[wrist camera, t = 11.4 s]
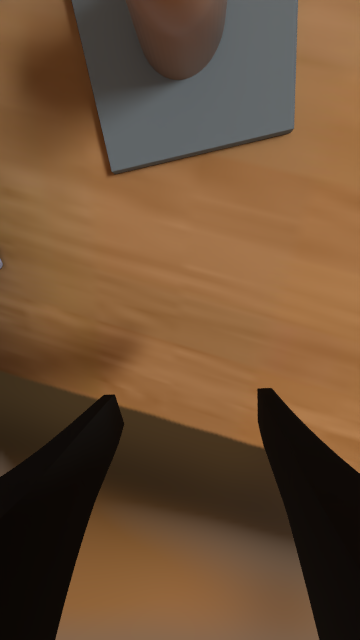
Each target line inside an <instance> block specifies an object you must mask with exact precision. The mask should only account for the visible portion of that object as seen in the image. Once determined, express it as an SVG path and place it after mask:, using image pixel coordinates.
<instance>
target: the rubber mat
mask: <svg viewBox="0 0 360 640" xmlns="http://www.w3.org/2000/svg"><path fill="white" fill-rule="evenodd" d="M72 4H73V8H74V13H75V17H76V21H77V25H78V30H79V34H80V38H81V42H82V47H83V51H84V55H85V59H86V64H87V68H88V72H89V76H90V81H91V85H92V89H93V94H94V98H95V102H96V106H97V111H98V115H99V119H100V123H101V128H102V132H103V136H104V140H105V145H106V149H107V153H108V157H109V162H110V166H111V170H112V172H113V173H114V174H118V173H123V172H127V171H131V170H135V169H140V168H144V167H148V166H152V165H157V164H161V163H165V162H169V161H174V160H178V159H182V158H186V157H191V156H195V155H199V154H203V153H208V152H212V151H216V150H220V149H225V148H229V147H233V146H237V145H241V144H246V143H250V142H254V141H258V140H263V139H267V138H271V137H275V136H280V135H284V134H288V133H291V131H292V130H293V129H294V111H295V79H296V46H297V13H298V0H227V9H226V19H225V25H224V31H223V34H222V38H221V41H220V43H219V46H218V48H217V50H216V52H215V54H214V56H213V57H212V59H211V60H210V62H209V63H208V64H207V65H206V66H205V67H204V68H203V69H202V70H201V71H200V72H199V73H197V74H196V75H194V76H192V77H190V78H187V79H183V80H173V79H169V78H166V77H164V76H162V75H160V74H159V73H158V72H157V71H155V70H154V69H153V67H152V66H151V65H150V64H149V62H148V61H147V59H146V57H145V56H144V54H143V51H142V49H141V46H140V43H139V40H138V37H137V34H136V31H135V28H134V25H133V22H132V19H131V16H130V13H129V10H128V7H127V4H126V1H125V0H72Z"/></svg>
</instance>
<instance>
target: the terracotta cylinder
mask: <svg viewBox="0 0 360 640" xmlns="http://www.w3.org/2000/svg"><path fill="white" fill-rule="evenodd" d="M125 1H126V4H127V7H128V10H129V13H130V16H131V19H132V22H133V25H134V28H135V31H136V34H137V37H138V40H139V43H140V46H141V49H142V51H143V54H144V56H145V57H146V59H147V61H148V62H149V64H150V65H151V66H152V67H153V69H154V70H155V71H157V72H158V73H159V74H160V75H162V76H164V77H166V78H169V79H173V80H183V79H187V78H190V77H192V76H194V75H196V74H197V73H199V72H200V71H201V70H202V69H203V68H204V67H205V66H206V65H207V64H208V63H209V62H210V60H211V59H212V57H213V56H214V54H215V52H216V50H217V48H218V46H219V43H220V41H221V38H222V34H223V31H224V25H225V19H226V9H227V0H125Z"/></svg>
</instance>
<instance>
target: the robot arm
mask: <svg viewBox="0 0 360 640" xmlns="http://www.w3.org/2000/svg"><path fill="white" fill-rule="evenodd" d="M2 265H3V264H2V261H1V259H0V269H1V268H2ZM258 424H259V429H260V433H261V437H262V441H263V445H264V448H265V451H266V454H267V456H268V459H269V462H270V465H271V468H272V471H273V474H274V476H275V479H276V482H277V485H278V488H279V491H280V494H281V497H282V499H283V502H284V506H285V509H286V512H287V515H288V519H289V523H290V526H291V530H292V534H293V538H294V541H295V545H296V548H297V553H298V557H299V560H300V564H301V567H302V572H303V576H304V580H305V584H306V587H307V591H308V595H309V600H310V603H311V608H312V611H313V615H314V620H315V624H316V628H317V632H318V636H319V640H360V473H358V472H357V471H356V470H355V469H353V468H352V467H351V466H350V465H349V464H347V463H346V462H345V461H344V460H343V459H342V458H340V457H339V456H338V455H337V454H336V453H335V452H334V451H332V450H331V449H330V448H329V447H328V446H327V445H326V444H325V443H324V442H323V441H322V440H320V439H319V438H318V437H317V436H316V435H315V434H314V433H313V432H312V431H311V430H310V429H309V428H308V427H307V426H306V425H305V424H304V423H303V422H302V421H301V420H300V419H299V418H298V417H297V416H296V415H295V414H294V413H293V412H292V411H291V409H290V408H289V407H288V406H287V405H286V404H285V403H284V402H283V401H282V399H281V398H280V397H279V396H278V395H277V394H276V392H275V391H274V390H273V389H272V388H261V389H258ZM123 426H124V422H123V418H122V415H121V412H120V409H119V406H118V403H117V400H116V397H115V395H103V396H102V397H101V398H100V399H98V400H97V401H96V402H95V403H94V404H93V405H92V406H91V407H89V408H88V409H87V410H86V411H85V412H84V413H83V414H81V415H80V416H79V417H78V418H77V419H76V420H75V421H73V423H71V424H70V425H69V426H68V427H66V428H65V429H64V430H63V431H62V432H60V433H59V434H58V435H57V436H56V437H54V438H53V439H52V440H51V441H49V442H48V443H47V444H46V445H45V446H43V447H42V448H41V449H39V450H38V451H37V452H35V453H34V454H33V455H31V456H30V457H29V458H27V459H26V460H24V461H23V462H22V463H20V464H19V465H17V466H16V467H15V468H13V469H12V470H10V471H9V472H7V473H6V474H4V475H3V476H1V477H0V640H55V638H56V634H57V630H58V626H59V622H60V618H61V614H62V610H63V606H64V603H65V599H66V595H67V592H68V588H69V585H70V581H71V577H72V573H73V570H74V566H75V563H76V560H77V556H78V553H79V549H80V546H81V543H82V540H83V536H84V533H85V530H86V527H87V524H88V521H89V518H90V515H91V512H92V509H93V506H94V503H95V500H96V497H97V495H98V493H99V490H100V488H101V485H102V483H103V481H104V478H105V476H106V473H107V471H108V469H109V466H110V464H111V461H112V459H113V456H114V454H115V451H116V449H117V446H118V444H119V440H120V437H121V433H122V430H123Z"/></svg>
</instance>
